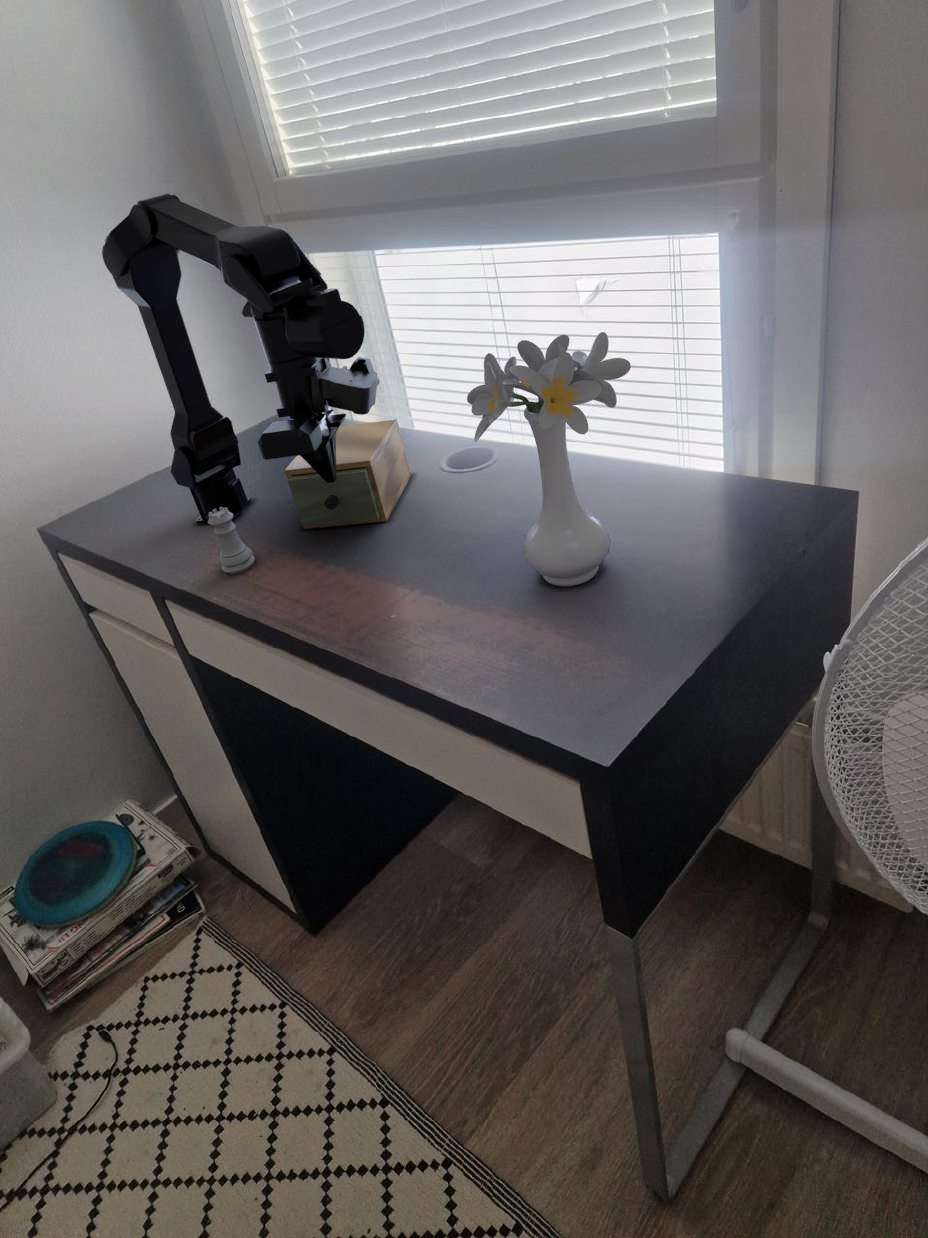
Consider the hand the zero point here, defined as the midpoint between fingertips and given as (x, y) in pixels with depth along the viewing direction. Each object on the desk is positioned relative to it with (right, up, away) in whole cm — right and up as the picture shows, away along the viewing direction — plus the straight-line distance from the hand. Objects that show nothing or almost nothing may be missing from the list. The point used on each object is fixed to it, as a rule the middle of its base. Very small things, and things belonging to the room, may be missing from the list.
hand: (331, 481), depth 103 cm
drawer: (+1, -1, +15) cm, 15 cm away
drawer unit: (+1, 0, +18) cm, 18 cm away
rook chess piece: (-13, -10, +8) cm, 18 cm away
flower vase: (+28, -11, -9) cm, 32 cm away
